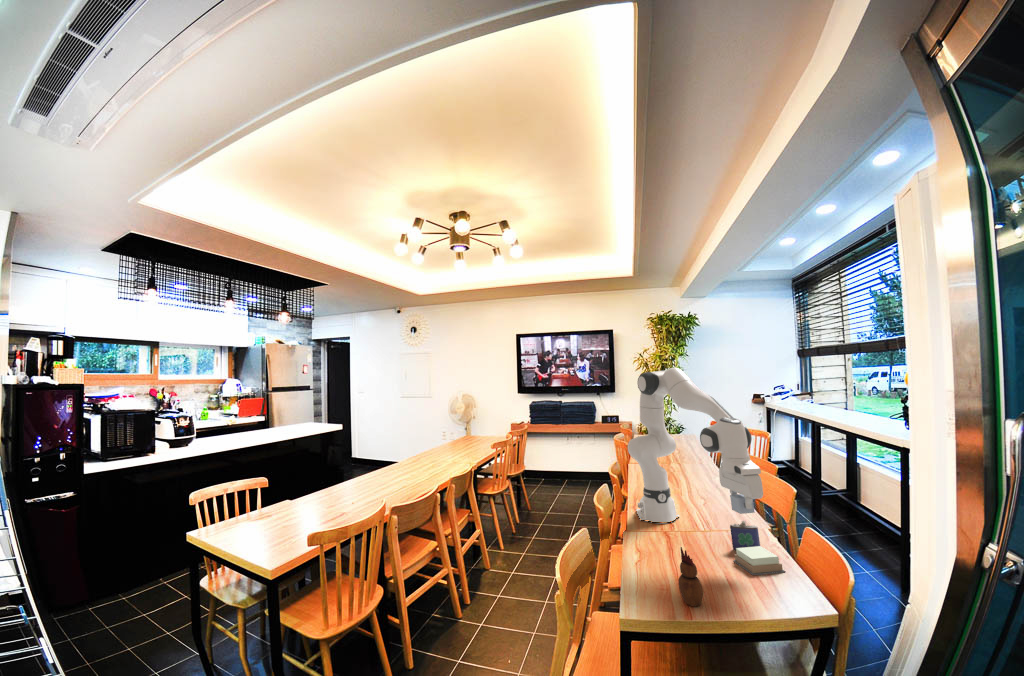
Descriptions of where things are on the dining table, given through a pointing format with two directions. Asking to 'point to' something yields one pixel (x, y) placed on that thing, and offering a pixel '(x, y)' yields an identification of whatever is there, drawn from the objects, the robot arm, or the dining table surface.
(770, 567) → the plinth
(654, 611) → the dining table surface
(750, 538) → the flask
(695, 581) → the wooden figurine
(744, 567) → the slate mat
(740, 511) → the cube
